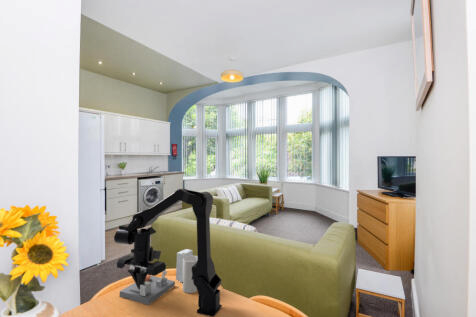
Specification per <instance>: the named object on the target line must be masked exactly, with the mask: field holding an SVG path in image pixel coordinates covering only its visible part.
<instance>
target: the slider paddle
mask: <svg viewBox="0 0 476 317" xmlns="http://www.w3.org/2000/svg"><path fill="white" fill-rule="evenodd" d="M151 285H152V282H148V281H146V282H144V283H142V284H141V285H140V295H142V296H146V295H148V294H149V293H151Z"/></svg>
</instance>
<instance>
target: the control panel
mask: <svg viewBox="0 0 476 317" xmlns="http://www.w3.org/2000/svg"><path fill="white" fill-rule="evenodd" d="M160 279H161V277H158V276H152V275H150V281H148V282H152V285H151V293H149V294H148V295H146V296H142V295H140V289H138V287H137V285H136V283H135V282H134V283H132V284H130V285H128V286H126V287H124V288H123V289H120V290H119V298H122V299H126V300H129V301H133V302H136V303H140V304H144V305H147V306H149V305H151V304H152V303H154V302H155V301H156V300H158V299H160V296H161V297H162V296H163V295H165V294H166V293H167V292H169V291H170V290H171V289H170V288H172V287H173V286H174V285H175V286H176V280H171V279H168V277H166V276H165V278H164V283H163V284H161V281H159V280H160ZM175 286H174V287H175ZM174 287H173V288H174ZM173 288H172V289H173ZM169 289H170V290H169ZM168 290H169V291H168ZM165 292H166V293H165ZM164 293H165V294H164Z"/></svg>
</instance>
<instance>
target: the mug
mask: <svg viewBox="0 0 476 317" xmlns="http://www.w3.org/2000/svg"><path fill="white" fill-rule="evenodd" d="M197 260H198V257H197V255H193V256H187V257H184V258H183V283H182V291H183V293H186V294H194V293H196V292H198V291H197V288H196V286H195V285H194V283H193V280H191V279H192V266H193V265H194V264H196V263H197ZM193 292H194V293H193Z"/></svg>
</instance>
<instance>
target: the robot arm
mask: <svg viewBox="0 0 476 317" xmlns="http://www.w3.org/2000/svg"><path fill="white" fill-rule="evenodd" d="M180 202H183V203H185V204H187V205H190V206H191V208H192V211H193V214H194V216H195V218H196V247H197V248H196V249H197V250H196V251H197V254H196V256H197V257H198V260H197V263H196V264H194V265H193V266H192V279H191V280H193V283H194V285H195V286H196V288H197V291H196V292H197V295H198V298H197V299H198V302H197V303H198V305H197V307H198V308H197V309H196V313H197V314H201V315H205V316H208V317H216V315H217V313H218V312H219V311H220V310H221V308H222V306H223V305H222V304H221V302H220V301H221V300H220V299H221V290H220V289H219V287H220V286H221V284H222V278H220V276H219V275H218V274H217V273H216V268H215V264H214V263H215V262H214V261H213V259H212V256H211V251H212V250H211V224H210V221H211V220H210V218H211V213H212V209H213V203H214V197H213V195H212V194H211V193H210V192H209V191H196V190H190V189H187V188H177V189H176V190H175V191H174V192H173V193H171V194H169V195H168V196H166V197H165V198H163V199H162V200H160V201H159V202H157V203H156V204H155V205H153V206H151V207H150V208H147V209H144V210H142V211H139V212H136V213H134V214H133V216H132V219H131V221H130V222H129V224H128V225H126V224H122V225H119V226H118V229H117V231H115V234H114V235H113V240H114V242H115V243H116V244H121V245H129V246H130V245H133V248H132V249H131V250H130V253H132V254H133V255H130V254H128V255H126V256H123V257H121V258H119V259H118V260H117V262H116V268H118V269H123V268H125V267H126V265H128V266H129V270H127V273H129V275H130V276H131V278H132V279H133V282H134V283H136V285H137V287H138V289H140V285H141V284H142V283H144V281H145V279H146V276H147V274H148V275H150V276H155V277H157V276H158V275H160V274H161V273H162V272H163V271H165V270H166V269H167V267H166V266H167V263H166V262H164V261H159V260H160V259H161V258H160V257H161V253H162V251H161V250H156V249H154V248H153V246H151V238H152V235H153V234H156V233H157V231H156V229H154V228H153V226H151V225H153V224H154V222H156V221H157V220H158V219H159V217H160V216H161V215H162V214H164V213H165V212H167V211H169V210H170V209H172V208H173V207H174V206H176V205H177V204H179V203H180ZM149 226H150V227H149ZM145 227H147V228H145ZM154 260H155V261H154ZM153 261H154V262H153ZM166 271H167V270H166Z"/></svg>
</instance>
